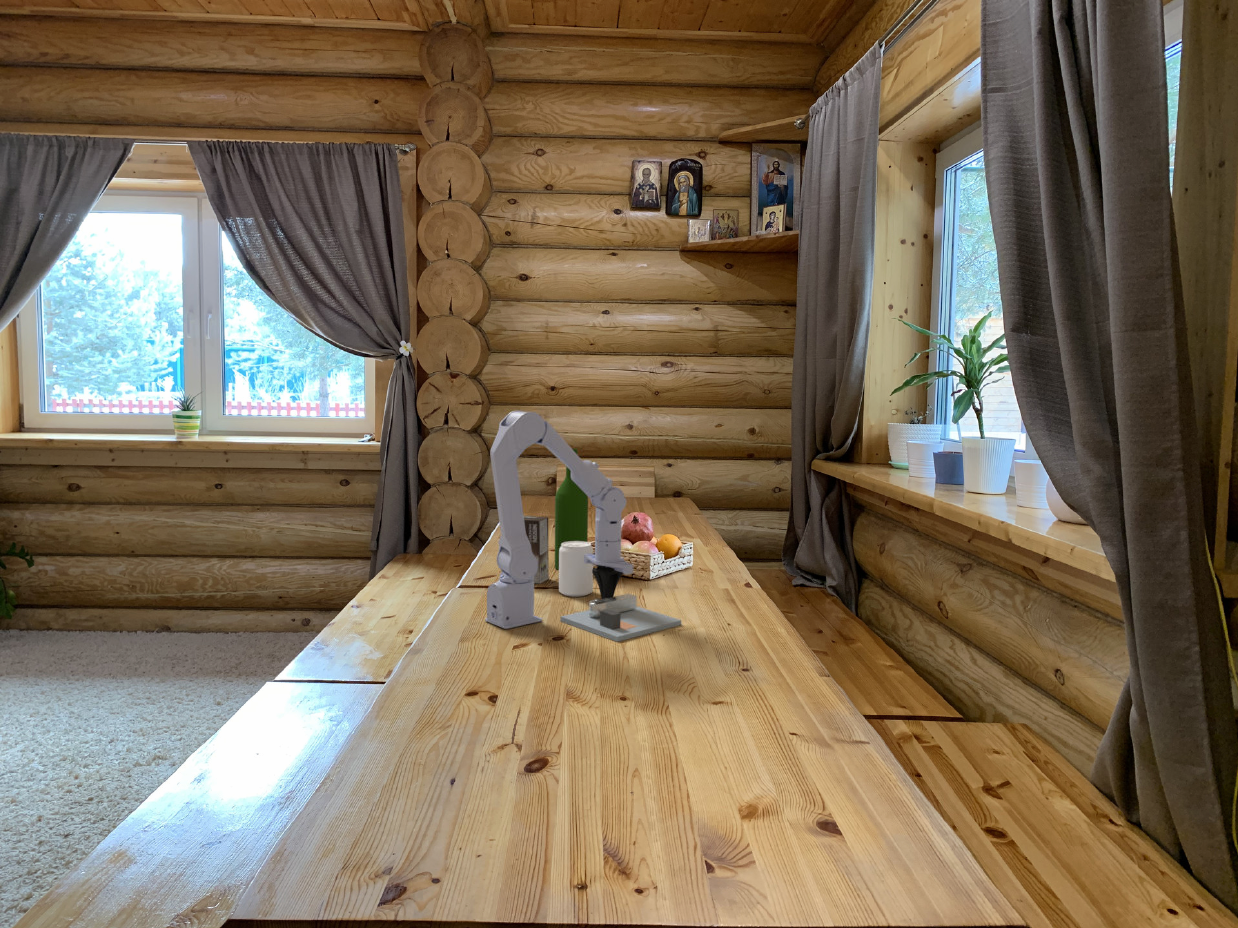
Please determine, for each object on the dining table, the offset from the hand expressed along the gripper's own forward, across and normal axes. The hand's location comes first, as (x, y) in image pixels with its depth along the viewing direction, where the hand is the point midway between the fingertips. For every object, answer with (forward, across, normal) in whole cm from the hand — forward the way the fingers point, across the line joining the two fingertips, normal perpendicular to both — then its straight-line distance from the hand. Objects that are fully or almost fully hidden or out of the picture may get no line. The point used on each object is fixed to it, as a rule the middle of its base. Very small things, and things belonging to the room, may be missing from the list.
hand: (607, 600), depth 180 cm
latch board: (+2, -9, +4) cm, 10 cm away
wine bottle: (+2, +38, -20) cm, 43 cm away
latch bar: (+1, -5, +3) cm, 6 cm away
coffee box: (+2, +34, -2) cm, 34 cm away
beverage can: (+2, +16, -4) cm, 17 cm away
